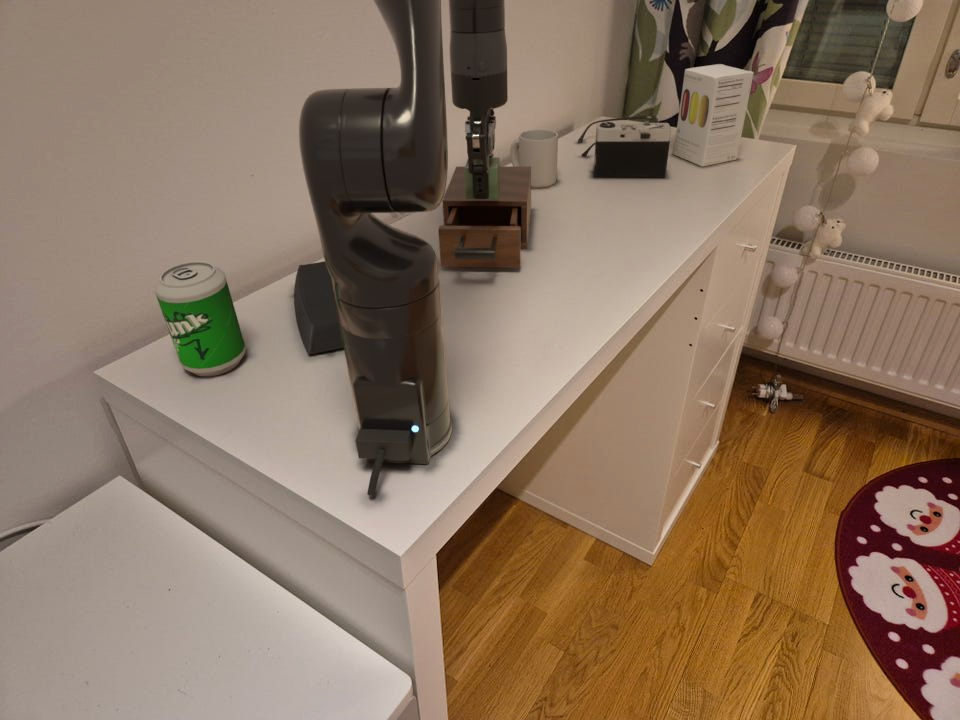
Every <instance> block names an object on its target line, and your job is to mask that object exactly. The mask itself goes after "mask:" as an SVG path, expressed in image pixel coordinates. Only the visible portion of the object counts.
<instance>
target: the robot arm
mask: <svg viewBox="0 0 960 720" xmlns="http://www.w3.org/2000/svg"><path fill="white" fill-rule="evenodd" d="M372 1H373V2H374V5H375V6H376V8H377V10H378V12H379V13H380V16H381V18H382V19H383V21H384V23H385V26H386V28H387V30H388V32H389V34H390V36H391V39H392V42H393V43H394V46H395V47H394V48H395V50H396V54H397V57H398V62H399V69H400V83H399V86H397V87H367V88H366V87H365V88H364V87H361V88H360V87H356V88H328V89H320V90H316V91H314V92H311V94H309V95H308V96H307V97H306V99H305V101H304V103H303V104H302V107H301V110H300V116H299V122H298V140H299V141H298V143H299V151H300V158H301V165H302V170H303V174H304V179H305V183H306V188H307V192H308V195H309V198H310V203H311V207H312V211H313V215H314V218H315V222H316V226H317V227H316V228H317V231H318V236H319V240H320V245H321V249H322V254H323V258H324V261H325V263H326V266H327V269H328V271H329V274H330V276H331V280H332V285H333V290H334V296H335V301H336V307H337V312H338V318H339V324H340V329H341V335H342V340H343V346H344V348H343V350H344V355H345V356H344V357H345V363H346V367H347V373H348V378H349V384H350V389H351V394H352V400H353V404H354V411H355V416H356V421H357V426H358V428H357V429H358V430H357V431H358V433H357V435H356V438H355V445H356V450H357V454H358V455H357V456H358V459H365V461H366V462H373V463H374V464H373V466H372V470H371V475H370V477H369V483H368V487H367V496H369V497H375V496H376V492H377V488H378V482H379V477H380V475H381V471H382V468H383V464H384V463H393V464H394V463H395V464H419V465H427V464H429V462H430V459H431V457H432V456H433V455H435V454H437V453H438V452H439V451H441V450H442V449H443V448H444V447H445V446H446V444H447V443H448V442H449V440H450V438H451V435H452V431H453V423H452V417H451V414H450V399H449V390H448V376H447V363H446V353H445V340H444V339H445V338H444V328H443V325H444V324H443V313H442V300H441V287H440V275H439V274H440V273H439V263H438V257H437V254H436V251H435V250H434V248H433V246H432V245H431V244H430V243H429V242H427V241H426V240H424V239H423V238H421V237H419V236H417V235H415V234H413V233H410V232H406V231H403V230H402V229H399V228H396V227H395V226H392V225H390V224H388V223H386V222H384V221H383V220H382V219H380V218H378V217H377V216H376V215H375V214H397V213H398V214H402V213H403V214H404V213H405V214H406V213H408V214H409V213H428V212H432V211H434V210H436V209H437V208H438V207H439V206H440V205H441V204H442V201H443V198H444V196H445V193H446V189H447V188H446V186H447V182H448V170H449V169H448V168H449V150H448V149H449V146H448V144H449V143H448V121H447V102H446V86H445V84H446V83H445V66H444V46H443V27H442V25H443V24H442V0H372ZM448 12H449V14H448V15H449V29H450V31H449V34H450V36H449V66H450V81H451V83H450V84H451V103H452V104H453V106H455V108H457V109H461V110H467V111H469V115H467V119H466V120H465V122H464V132H465V141H466V154H467V160H468V163H469V167H468V171H469V173H470V174H472V176H473V197H474V198H475V199H487V198H488V197H489V175H488V174H489V171H490V167H489V157H494V153H493V152H494V150H495V145H496V126H497V115H495V110H494V109H498V108H501V107H503V106H505V105H506V104H507V102H508V99H509V98H508V97H509V96H508V45H507V39H506V29H505V26H506V22H505V21H506V19H505V17H506V15H505V12H506V11H505V0H448ZM475 159H481V160H482V161H483V164H475Z"/></svg>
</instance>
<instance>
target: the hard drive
mask: <svg viewBox="0 0 960 720" xmlns="http://www.w3.org/2000/svg"><path fill="white" fill-rule="evenodd" d="M293 304H294V305H293V306H294V314H295V320H296V324H297V328H298V332H299V335H300V338H301V341H302V344H303V346H304V348H305V350H306V352H307V354H308V355H313V354H318V353H324V352H328V351H329V352H330V351H334V350H339V349H344V346H343V340H342V335H341V329H340V324H339V318H338V312H337V307H336V301H335V296H334V290H333V285H332V280H331V276H330V274H329V271H328V269H327V266H326V263H325V260H323V261H319V262H313V263H305V264H299V265H298V268H297V271H296V274H295V282H294V289H293Z"/></svg>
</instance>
